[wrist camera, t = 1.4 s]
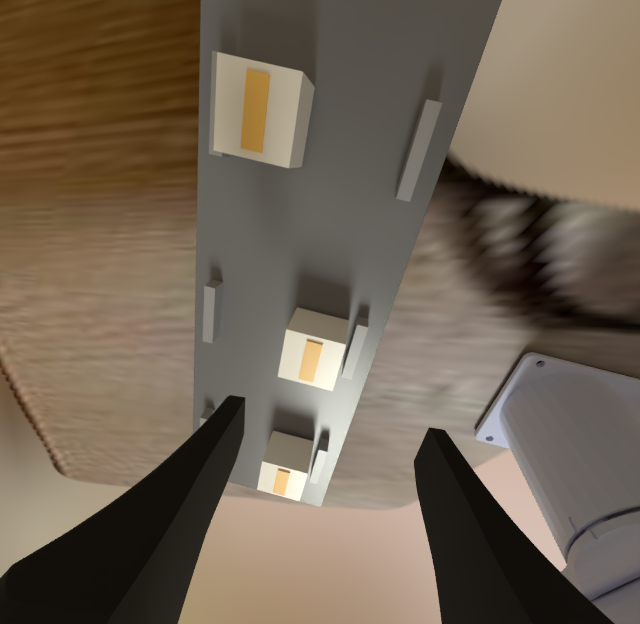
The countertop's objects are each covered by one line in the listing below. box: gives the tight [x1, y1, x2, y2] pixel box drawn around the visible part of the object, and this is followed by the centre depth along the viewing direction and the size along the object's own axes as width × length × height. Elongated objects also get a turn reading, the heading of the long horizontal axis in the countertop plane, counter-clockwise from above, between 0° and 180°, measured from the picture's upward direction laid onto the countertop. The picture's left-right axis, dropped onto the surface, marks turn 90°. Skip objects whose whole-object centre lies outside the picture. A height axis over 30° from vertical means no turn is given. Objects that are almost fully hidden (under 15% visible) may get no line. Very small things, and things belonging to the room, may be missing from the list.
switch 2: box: [257, 431, 314, 501], centre depth 21 cm, size 3×3×3 cm
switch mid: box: [278, 307, 349, 391], centre depth 17 cm, size 3×3×3 cm
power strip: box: [193, 0, 502, 507], centre depth 19 cm, size 11×32×4 cm, turn 168°
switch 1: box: [213, 52, 315, 168], centre depth 12 cm, size 3×3×3 cm
